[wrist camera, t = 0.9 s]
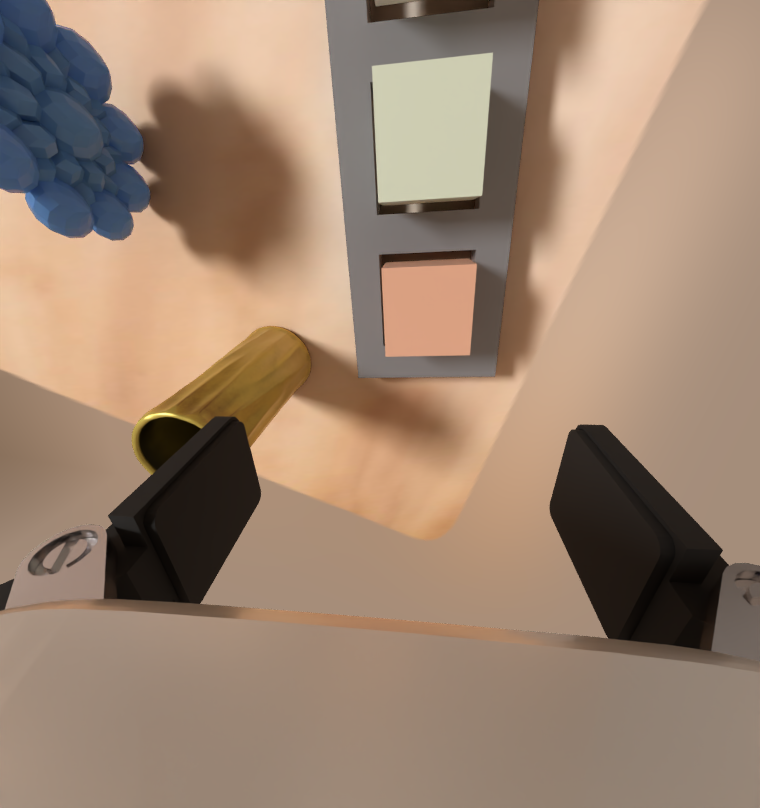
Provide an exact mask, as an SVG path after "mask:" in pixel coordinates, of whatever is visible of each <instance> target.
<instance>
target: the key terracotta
mask: <svg viewBox="0 0 760 808" xmlns="http://www.w3.org/2000/svg"><path fill="white" fill-rule="evenodd" d="M381 270H382V292H383V313H384V334H385V356H386V357H399V356H457V355H470V348H471V335H472V322H473V309H474V296H475V283H476V270H477V264H476V263H475V262H473V261H472V260H470V259H469V258H467V259H446V260H425V261H404V262H386V263H385V264H384V266H383V267H382V268H381Z"/></svg>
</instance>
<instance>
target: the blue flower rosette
mask: <svg viewBox="0 0 760 808" xmlns="http://www.w3.org/2000/svg"><path fill="white" fill-rule="evenodd" d="M111 90H112V83H111V76H110V72H109V70H108V67H107V66H106V64H105V62H104V61H103V59H102V58H101V56H100V55H99V54H98V53H97V51H96V50H95V49H94V48H93V47H92V45H91V44H90V43H89V42H88V41H87V40H86V39H84V38H83V37H82V36H80V35H79V34H78V33H77V32H75V31H74V30H73V29H70V28H67V27H63V26H60V25H56V22H55V18H54V15H53V12H52V10H51V8H50V6H49V4H48V3H47V1H46V0H0V189H3V190H5V191H7V192H10V193H26V194H25V199H26V202H27V204H28V206H29V208H30V210H31V211H32V213H33V214H34V216H35V217H36V219H38V220H39V221H40V222H41V223H43V224H44V225H45V226H46V227H48V228H49V229H50V230H52V231H54V232H56V233H59V234H61V235H64V236H66V237H69V238H83V237H85V236H86V235H87V234H89V233H90V232H91V231H92V229H93V230H94V231H95V232H96V233H97V234H99V235H101V236H103V237H105V238H108V239H110V240H124V239H125V238H127V237H128V236H129V235H131V232H132V230H133V227H134V225H133V218H132V215H131V213H130V212H142V211H143V210H144V209H146V208H147V207H148V204H149V201H150V190H149V187H148V185H147V184H146V182H145V180H144V179H143V177H142V176H141V175H140V174H139V173H138V172H137V171H136V170H135V169H134V168H133V167H131V166H130V165H128V164H135V163H136V162H137V161H139V160H140V159H141V156H142V154H143V151H144V145H143V138H142V135H141V134H140V132H139V130H138V129H137V127H136V125H135V124H134V123H133V122H132V121H131V120H130V118H129V117H128V116H127V115H126V114H125V113H124V112H122V111H121V110H119V109H118V108H116V107H115V106H114V105H112V104H107V103H105V102H106V101H108V100H109V98H110V94H111Z"/></svg>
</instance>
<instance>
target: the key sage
mask: <svg viewBox="0 0 760 808" xmlns="http://www.w3.org/2000/svg"><path fill="white" fill-rule="evenodd" d="M492 60H493V53H485V54H476V55H467V56H458V57H449V58H439V59H430V60H421V61H412V62H403V63H394V64H385V65H376V66H372V79H373V100H374V122H375V143H376V164H377V185H378V203H380V204H382V205H383V206H386V205H402V204H417V203H432V202H447V201H463V200H473V199H476V198H478V197H480V196H482V191H483V178H484V165H485V152H486V139H487V125H488V112H489V99H490V86H491V73H492Z"/></svg>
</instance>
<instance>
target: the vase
mask: <svg viewBox="0 0 760 808" xmlns="http://www.w3.org/2000/svg"><path fill="white" fill-rule="evenodd" d="M310 369H311V359H310V355H309V352H308V350H307V348H306V346H305V345H304V343H303V342H302V341H301V340H300V339H299V338H298V337H297V336H296V335H295V334H293V333H292V332H290V331H289V330H286V329H284V328H281V327H276V326H267V327H262V328H259V329H257V330H255V331H254V332H252V333H251V334H250V336H249V337H248V338H247V339H245V340H244V341H243V342H241V343H240V344H239V345H237V346H236V347H235V348H233V349H232V350H231V351H230V352H229V353H228V354H226V355H225V356H224V357H223V358H221V359H220V360H219V361H217V362H216V363H215V364H214V365H212V366H211V367H210V368H209V369H208V370H206V371H205V372H204V373H203V374H202V375H200V376H199V377H198V378H196V379H195V380H194V381H192V382H191V383H189V384H188V385H186V386H185V387H184V388H182V389H181V390H179V391H178V392H177V393H175V394H174V395H173V396H171V397H170V398H168V399H167V400H165V401H164V402H162V403H161V404H159V405H158V406H156V407H155V408H153V409H151V410H150V411H148V412H147V413H146V414H145V415H144V416H143V417H142V418H141V419H140V420H139V421H138V423H137V424H136V426H135V427H134V429H133V432H132V447H133V450H134V453H135V455H136V457H137V459H138V461H139V462H140V463H141V464H142V466H143V467H144V468H145V469H146V470H147V471H148V472H149V473H150V474H151V475H152V474H153V473H154V472H155V471H156V470H158V469H159V468H160V467H161V466H162V465H163V464H164V463H165V462H166V461H167V460H168V459H169V458H170V457H172V456H173V455H174V454H175V453H176V452H177V451H178V450H179V449H180V448H181V447H182V446H183V445H184V444H186V443H187V442H188V441H189V440H190V439H191V438H192V437H193V436H194V435H195V434H196V433H197V432H198V431H200V430H201V429H202V428H203V427H204V426H205V425H206V424H207V423H208V422H209V421H210V420H211V419H212V418H214V417H215V416H228V417H236V418H237V419H238V420H239V422H243V424H244V426H245V430H246V434H247V438H248V442H249V446H250V447H251V446H252V444H253V443H254V442H255V441H256V439H257V438H258V437H259V436H260V434H261V433H262V432H263V431H264V429H265V428H266V427H267V426H268V424H269V423H270V422H271V421H272V419H273V418H274V417H275V416H276V414H277V413H278V412H279V411H280V409H281V408H282V407H283V406H284V404H285V403H286V402H287V401H288V400H289V399H290V397H291V396H292V395H293V394H294V392H295V391H296V390H297V389H298V388H299V387H300V386H301V385H303V383H304V382H305V381H306V379H307V378H308V376H309V373H310Z"/></svg>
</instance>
